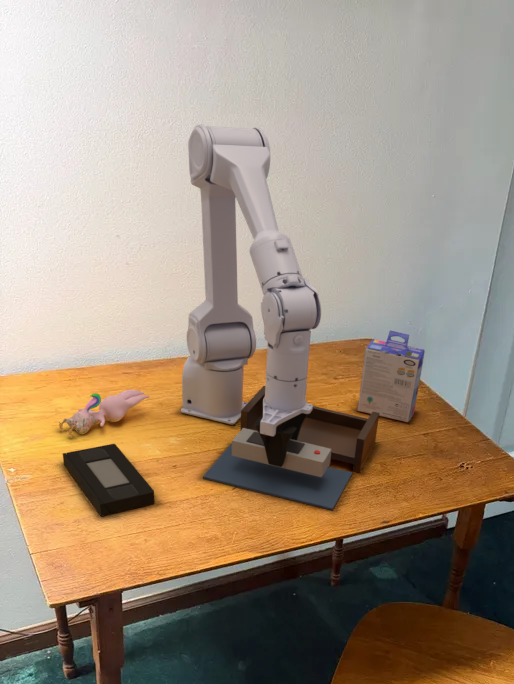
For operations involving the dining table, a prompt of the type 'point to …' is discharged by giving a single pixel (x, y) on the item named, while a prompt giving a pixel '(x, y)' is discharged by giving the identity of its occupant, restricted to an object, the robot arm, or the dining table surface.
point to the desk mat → (279, 480)
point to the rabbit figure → (103, 410)
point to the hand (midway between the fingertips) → (281, 456)
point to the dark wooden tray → (326, 430)
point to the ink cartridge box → (391, 378)
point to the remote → (297, 455)
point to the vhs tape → (108, 479)
